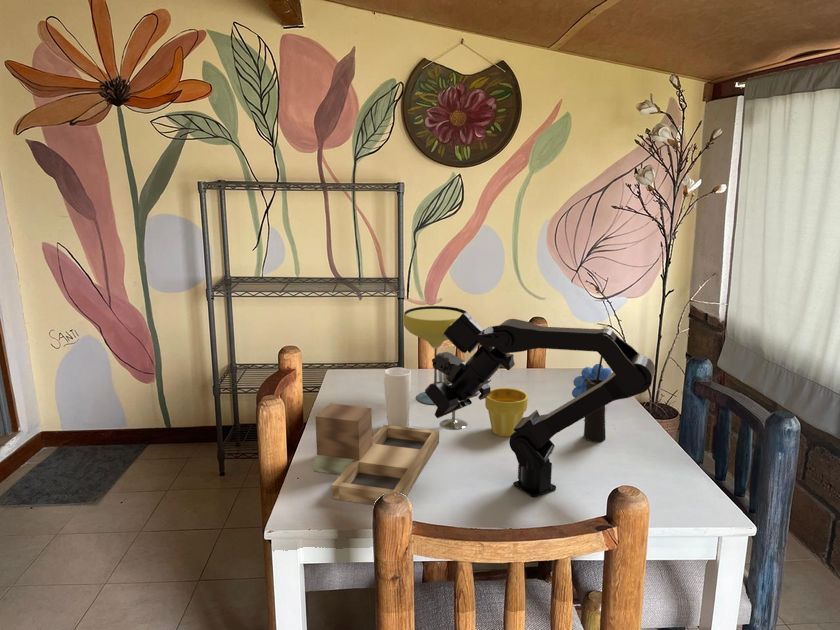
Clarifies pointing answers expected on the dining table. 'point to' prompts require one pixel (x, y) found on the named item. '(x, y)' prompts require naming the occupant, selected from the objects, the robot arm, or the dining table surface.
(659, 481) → the dining table surface
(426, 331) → the cocktail glass
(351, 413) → the walnut block
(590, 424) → the butter churn
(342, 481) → the tray
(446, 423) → the wine glass
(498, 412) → the plant pot
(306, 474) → the dining table surface
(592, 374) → the grapes
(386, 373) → the drinking glass
